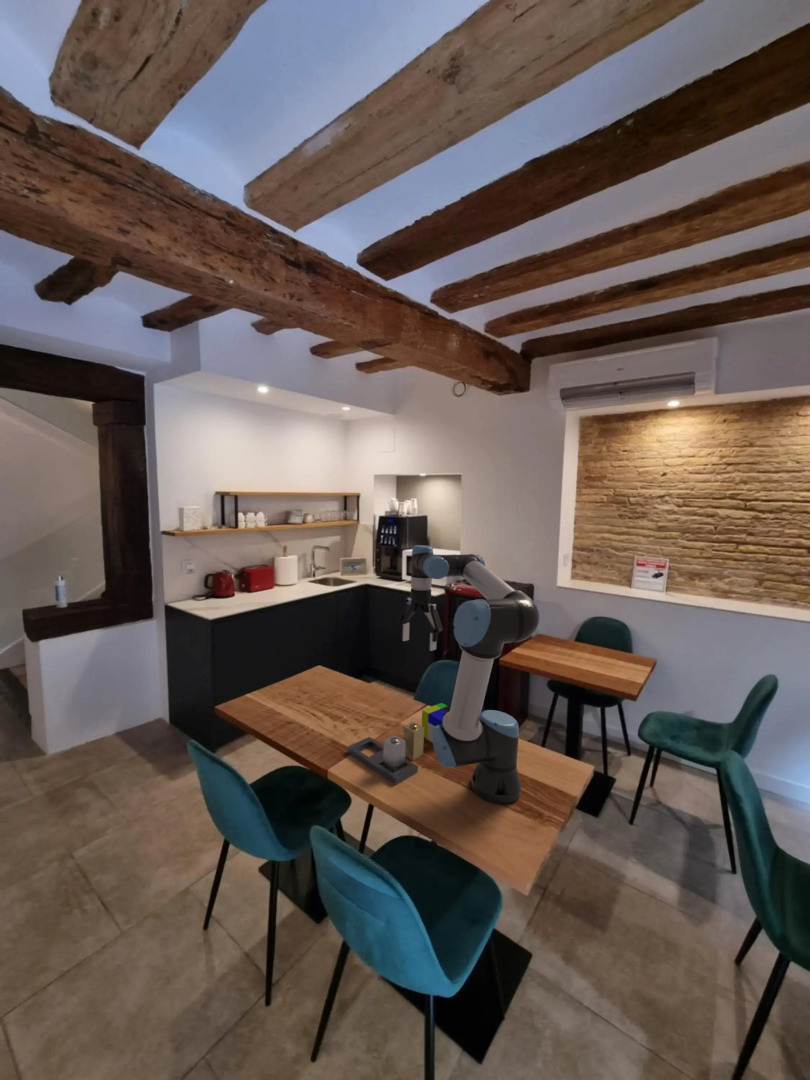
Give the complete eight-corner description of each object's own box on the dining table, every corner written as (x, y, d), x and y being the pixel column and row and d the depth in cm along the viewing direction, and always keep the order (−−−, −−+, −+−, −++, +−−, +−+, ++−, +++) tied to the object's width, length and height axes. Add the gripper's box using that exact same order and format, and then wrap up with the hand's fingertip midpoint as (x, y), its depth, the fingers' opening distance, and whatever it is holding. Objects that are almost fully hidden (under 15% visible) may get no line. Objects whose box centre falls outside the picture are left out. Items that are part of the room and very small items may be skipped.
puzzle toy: (439, 747, 162) (441, 720, 161) (421, 735, 170) (422, 710, 169) (459, 738, 169) (460, 712, 168) (440, 727, 176) (441, 702, 175)
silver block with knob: (404, 770, 148) (405, 739, 147) (393, 776, 144) (394, 745, 143) (393, 763, 151) (394, 733, 150) (382, 769, 148) (383, 739, 147)
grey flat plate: (417, 771, 147) (417, 765, 147) (395, 785, 140) (395, 778, 140) (369, 741, 164) (369, 736, 164) (347, 752, 157) (347, 746, 157)
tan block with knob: (423, 754, 157) (424, 725, 156) (413, 760, 154) (414, 730, 153) (412, 748, 161) (413, 720, 160) (402, 754, 157) (403, 725, 156)
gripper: (454, 592, 158) (452, 651, 160) (403, 581, 176) (402, 634, 178) (440, 595, 153) (438, 656, 155) (389, 583, 170) (388, 638, 172)
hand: (418, 645), depth 166 cm, fingers open, 13 cm apart
